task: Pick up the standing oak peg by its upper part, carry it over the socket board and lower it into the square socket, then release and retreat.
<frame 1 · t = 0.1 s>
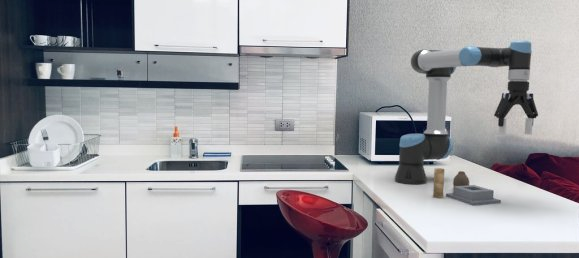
hand: (515, 134, 178), 28 cm above the counter, fingers open, 13 cm apart
vase: (460, 191, 203), on the counter
socket: (472, 199, 186), on the counter
peg: (438, 196, 190), on the counter
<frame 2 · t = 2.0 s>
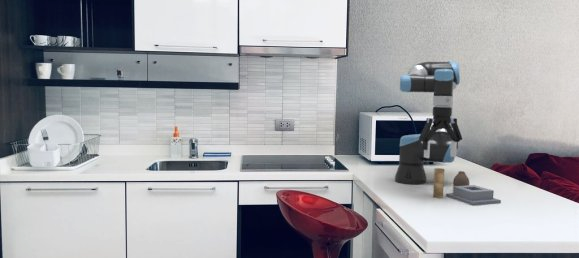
hand: (439, 157, 188), 17 cm above the counter, fingers open, 13 cm apart
nothing on the counter moved.
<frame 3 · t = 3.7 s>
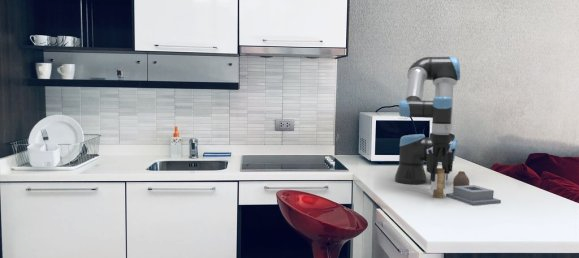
hand: (438, 188, 190), 4 cm above the counter, fingers closed on peg, 4 cm apart
peg: (438, 196, 190), on the counter, touching gripper
everything else where it was.
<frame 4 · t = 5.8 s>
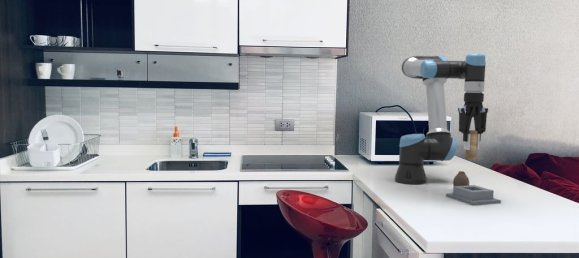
hand: (471, 149, 184), 21 cm above the counter, fingers closed on peg, 4 cm apart
peg: (470, 159, 185), point 17 cm above the counter, touching gripper
everything else where it was.
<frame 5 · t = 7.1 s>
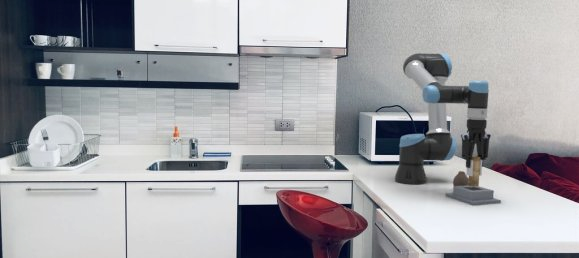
hand: (473, 175, 185), 10 cm above the counter, fingers closed on peg, 4 cm apart
peg: (473, 185, 186), point 6 cm above the counter, touching gripper
everything else where it was.
when the fingers open (6 cm above the counter, at t = 8.2 s): peg stays where it is, resting on socket.
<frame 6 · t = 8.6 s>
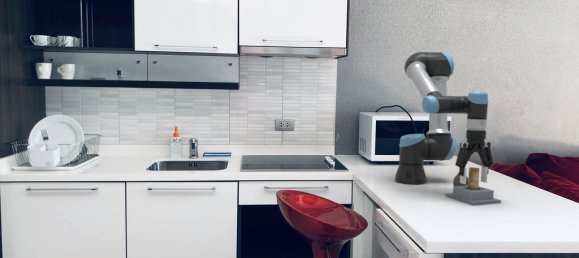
hand: (473, 182, 186), 7 cm above the counter, fingers open, 10 cm apart
peg: (472, 196, 186), point 1 cm above the counter, touching socket
everything else where it was.
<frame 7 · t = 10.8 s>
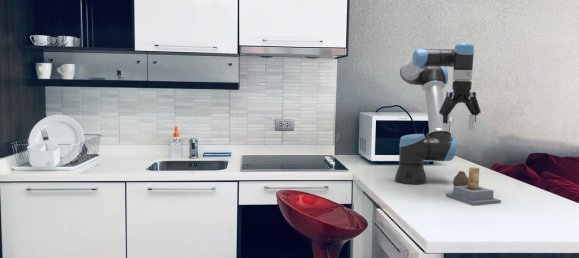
hand: (459, 130, 192), 28 cm above the counter, fingers open, 13 cm apart
nothing on the counter moved.
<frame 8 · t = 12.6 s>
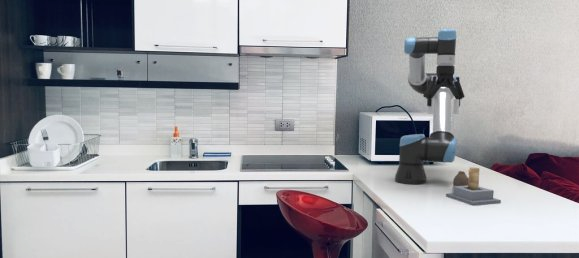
hand: (443, 113, 198), 35 cm above the counter, fingers open, 13 cm apart
nothing on the counter moved.
at the end: peg 0.0 cm off-centre on the socket, point 1.2 cm above the socket's base; peg tilted 0°; the gripper is holding nothing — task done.
